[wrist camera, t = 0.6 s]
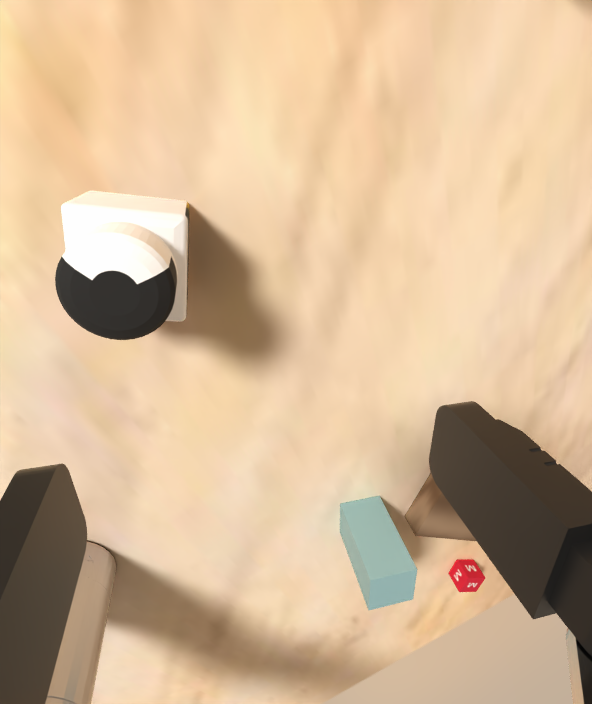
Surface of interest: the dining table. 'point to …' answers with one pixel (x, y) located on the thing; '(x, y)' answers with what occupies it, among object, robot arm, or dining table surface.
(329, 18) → the dining table surface
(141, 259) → the medicine bottle
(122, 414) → the dining table surface
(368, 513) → the teal pillar block
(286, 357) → the dining table surface
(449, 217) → the dining table surface
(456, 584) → the dice
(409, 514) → the walnut base plate
